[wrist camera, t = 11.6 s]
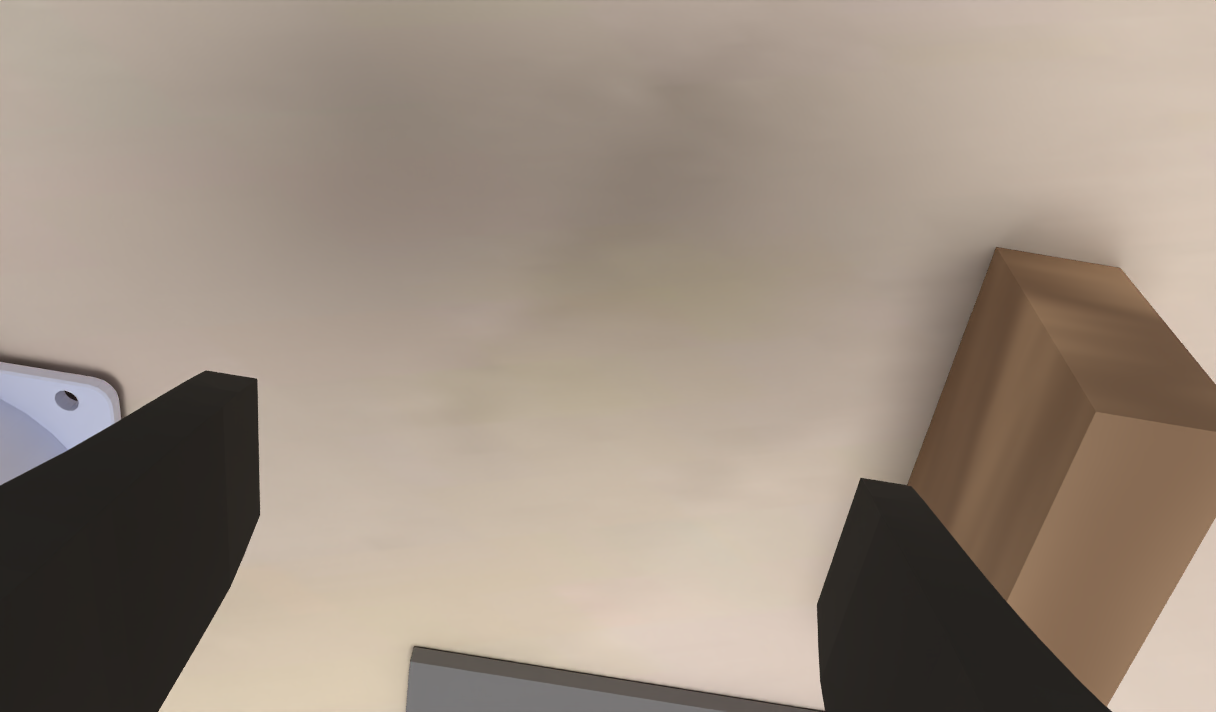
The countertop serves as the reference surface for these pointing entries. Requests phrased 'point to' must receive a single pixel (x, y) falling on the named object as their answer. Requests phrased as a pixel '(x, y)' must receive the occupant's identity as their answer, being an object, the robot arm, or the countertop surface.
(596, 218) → the countertop surface
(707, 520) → the countertop surface
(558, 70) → the countertop surface
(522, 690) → the mat
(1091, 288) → the wooden plank piece
